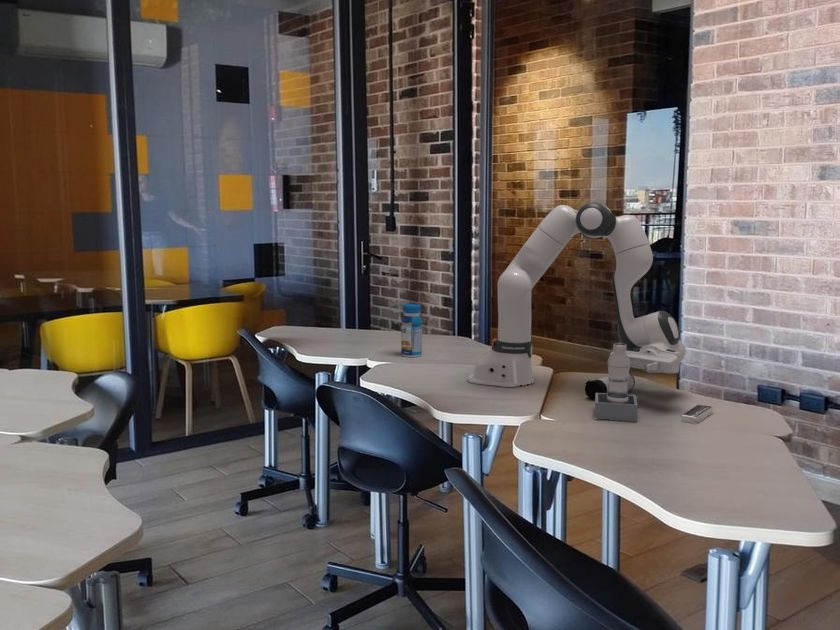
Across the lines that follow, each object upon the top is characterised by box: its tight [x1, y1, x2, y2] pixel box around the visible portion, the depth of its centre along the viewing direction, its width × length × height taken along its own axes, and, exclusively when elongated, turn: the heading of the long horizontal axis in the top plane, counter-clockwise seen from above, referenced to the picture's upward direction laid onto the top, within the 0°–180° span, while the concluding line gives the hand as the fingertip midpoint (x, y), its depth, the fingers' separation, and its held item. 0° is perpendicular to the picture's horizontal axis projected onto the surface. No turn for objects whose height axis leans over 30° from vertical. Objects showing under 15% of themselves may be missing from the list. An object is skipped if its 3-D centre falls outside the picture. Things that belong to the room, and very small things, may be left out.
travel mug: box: [584, 371, 636, 401], centre depth 254 cm, size 6×7×20 cm
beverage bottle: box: [400, 303, 424, 358], centre depth 311 cm, size 8×8×20 cm
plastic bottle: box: [606, 342, 631, 404], centre depth 231 cm, size 6×7×20 cm
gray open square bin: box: [594, 393, 639, 422], centre depth 232 cm, size 12×12×5 cm
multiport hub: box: [680, 404, 714, 424], centre depth 231 cm, size 4×14×2 cm, turn 143°
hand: (631, 365), depth 236 cm, fingers open, 8 cm apart
